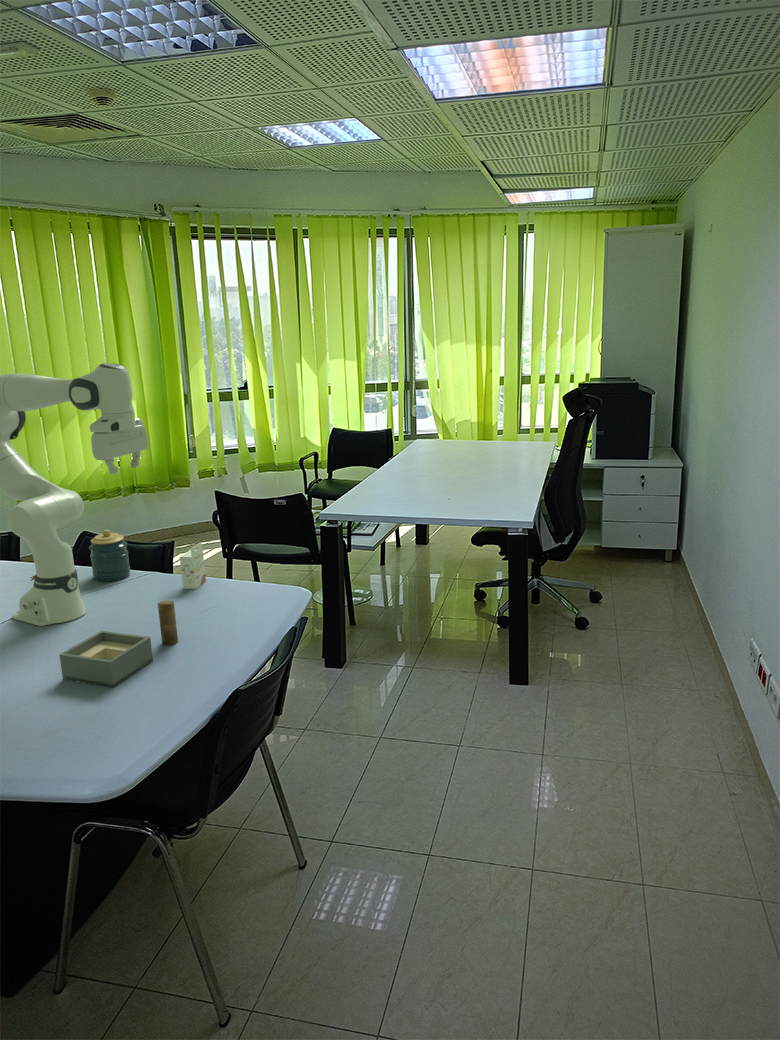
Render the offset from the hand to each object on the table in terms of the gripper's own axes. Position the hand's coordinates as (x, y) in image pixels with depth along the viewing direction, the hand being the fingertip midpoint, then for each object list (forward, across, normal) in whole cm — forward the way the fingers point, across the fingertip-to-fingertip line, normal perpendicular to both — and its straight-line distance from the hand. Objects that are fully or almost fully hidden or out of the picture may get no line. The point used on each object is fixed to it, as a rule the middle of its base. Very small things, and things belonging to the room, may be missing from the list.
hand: (124, 470), depth 217 cm
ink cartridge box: (+48, -36, -6) cm, 60 cm away
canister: (+48, -36, -41) cm, 73 cm away
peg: (+48, +8, +15) cm, 51 cm away
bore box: (+48, +28, +10) cm, 57 cm away
